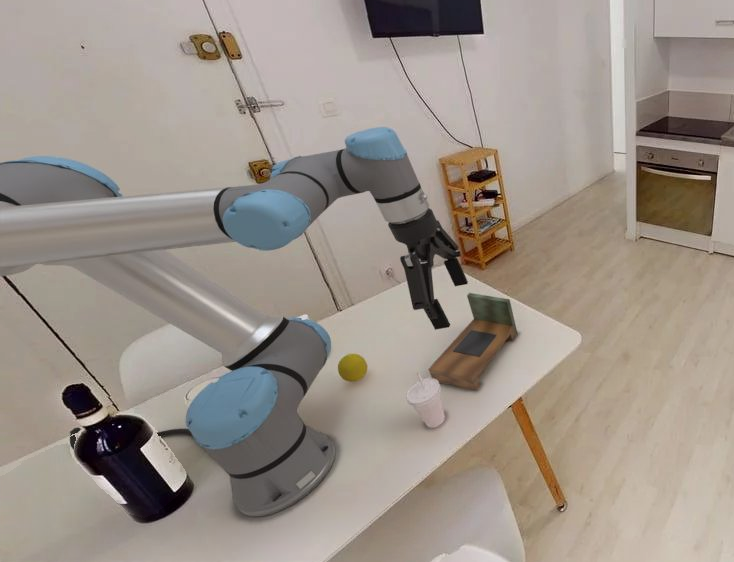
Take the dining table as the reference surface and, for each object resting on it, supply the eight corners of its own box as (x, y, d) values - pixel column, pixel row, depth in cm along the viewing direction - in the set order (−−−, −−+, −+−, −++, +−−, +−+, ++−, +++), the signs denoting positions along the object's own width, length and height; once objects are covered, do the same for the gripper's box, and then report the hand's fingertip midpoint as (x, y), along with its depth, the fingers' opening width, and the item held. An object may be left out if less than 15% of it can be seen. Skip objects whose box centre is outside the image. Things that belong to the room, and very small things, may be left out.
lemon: (359, 390, 96) (346, 366, 92) (340, 387, 97) (326, 363, 93) (377, 372, 101) (365, 348, 97) (358, 369, 102) (346, 345, 98)
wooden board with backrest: (432, 380, 98) (418, 344, 92) (479, 326, 114) (469, 292, 108) (476, 390, 95) (463, 353, 89) (517, 333, 111) (509, 299, 105)
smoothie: (456, 408, 91) (439, 363, 84) (441, 434, 86) (422, 389, 79) (429, 406, 92) (410, 362, 85) (413, 432, 86) (391, 387, 79)
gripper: (403, 247, 63) (453, 345, 74) (449, 184, 84) (483, 266, 95) (354, 256, 63) (412, 352, 73) (413, 190, 84) (451, 272, 95)
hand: (452, 304), depth 84 cm, fingers open, 13 cm apart
